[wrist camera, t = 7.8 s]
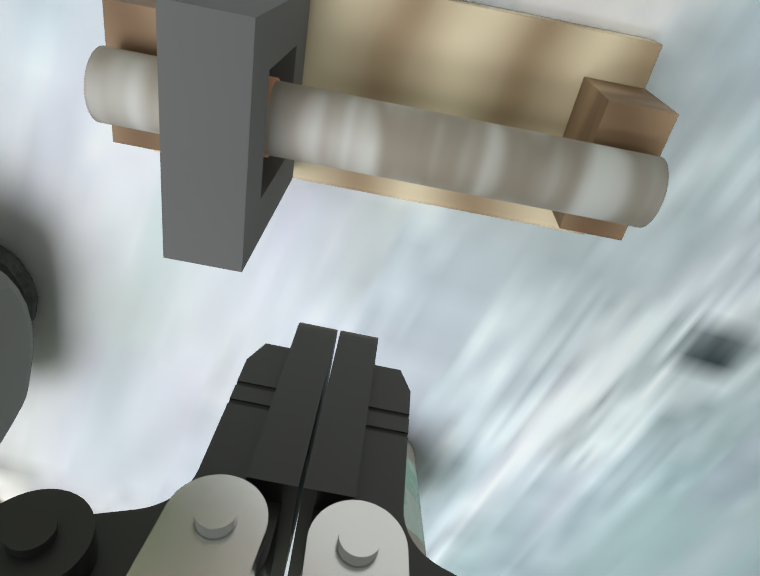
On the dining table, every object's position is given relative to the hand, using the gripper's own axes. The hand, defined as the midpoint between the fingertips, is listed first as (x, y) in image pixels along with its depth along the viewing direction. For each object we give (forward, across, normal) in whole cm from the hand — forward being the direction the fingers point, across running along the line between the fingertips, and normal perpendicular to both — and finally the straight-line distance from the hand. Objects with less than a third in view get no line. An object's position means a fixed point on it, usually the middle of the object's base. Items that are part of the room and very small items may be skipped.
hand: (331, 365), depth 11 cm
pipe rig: (+22, 0, 0) cm, 22 cm away
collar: (+20, +6, 0) cm, 21 cm away
